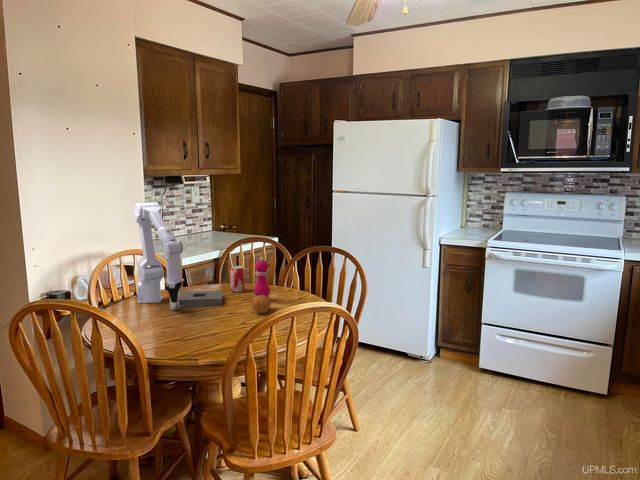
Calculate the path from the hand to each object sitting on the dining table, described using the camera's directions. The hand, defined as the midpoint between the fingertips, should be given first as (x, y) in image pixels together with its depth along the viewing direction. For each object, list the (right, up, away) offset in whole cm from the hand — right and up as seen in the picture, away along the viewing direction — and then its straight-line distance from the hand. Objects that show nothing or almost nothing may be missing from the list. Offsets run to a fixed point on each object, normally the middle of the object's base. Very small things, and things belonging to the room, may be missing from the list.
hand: (174, 300), depth 200 cm
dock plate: (+7, -2, +13) cm, 15 cm away
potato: (+37, -5, -1) cm, 37 cm away
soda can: (+21, 0, +32) cm, 38 cm away
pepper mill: (+35, -2, +15) cm, 38 cm away
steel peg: (0, -3, 0) cm, 3 cm away
